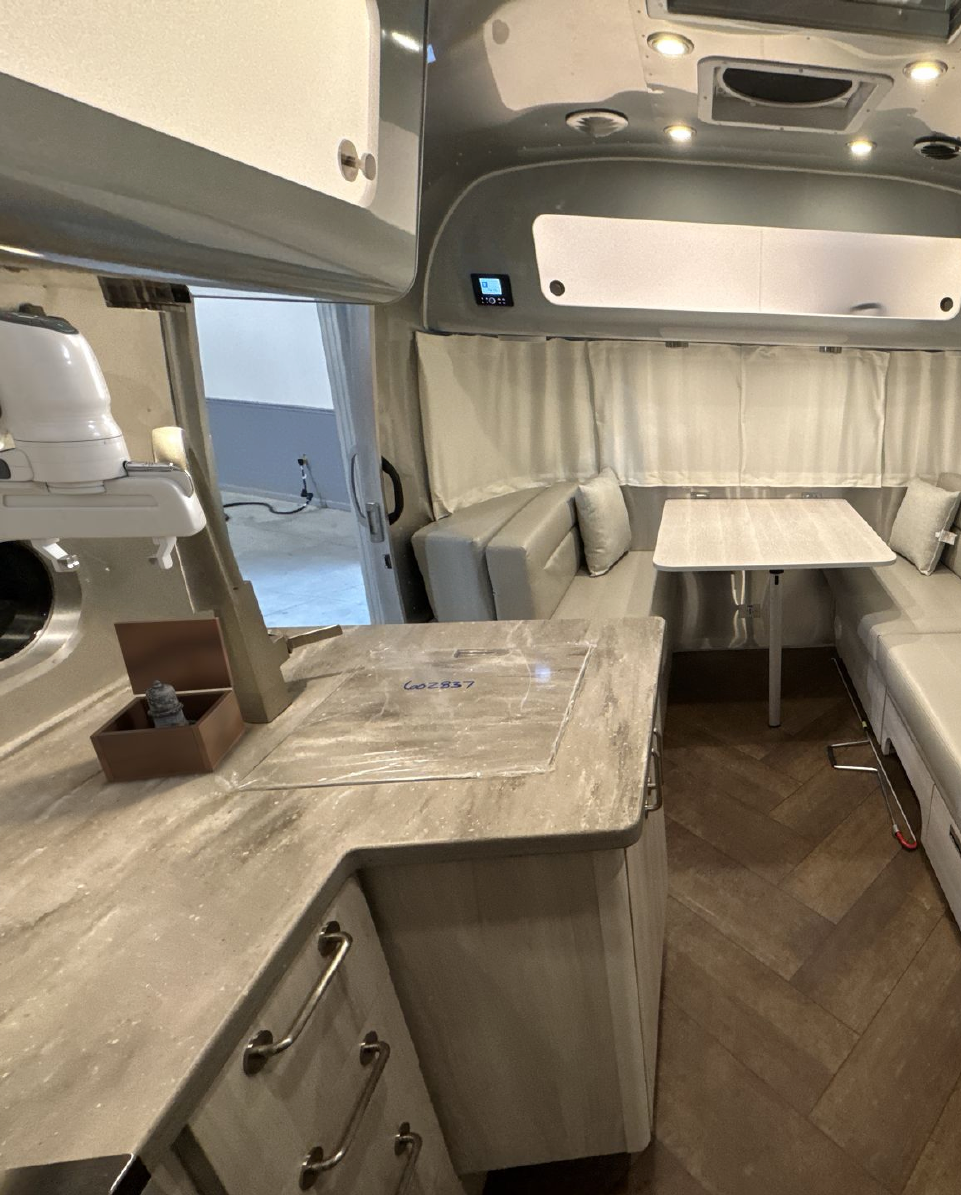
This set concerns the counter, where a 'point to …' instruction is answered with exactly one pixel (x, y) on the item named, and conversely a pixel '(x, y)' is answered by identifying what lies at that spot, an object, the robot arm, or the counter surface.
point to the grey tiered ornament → (165, 706)
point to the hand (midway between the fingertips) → (116, 569)
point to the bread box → (169, 738)
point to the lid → (175, 654)
